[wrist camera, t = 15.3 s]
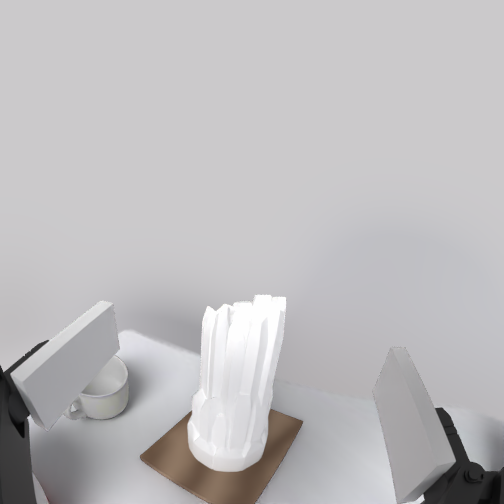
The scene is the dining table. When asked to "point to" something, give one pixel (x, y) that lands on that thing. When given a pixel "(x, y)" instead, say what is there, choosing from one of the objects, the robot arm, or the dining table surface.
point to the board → (218, 482)
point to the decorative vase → (236, 382)
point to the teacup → (103, 393)
